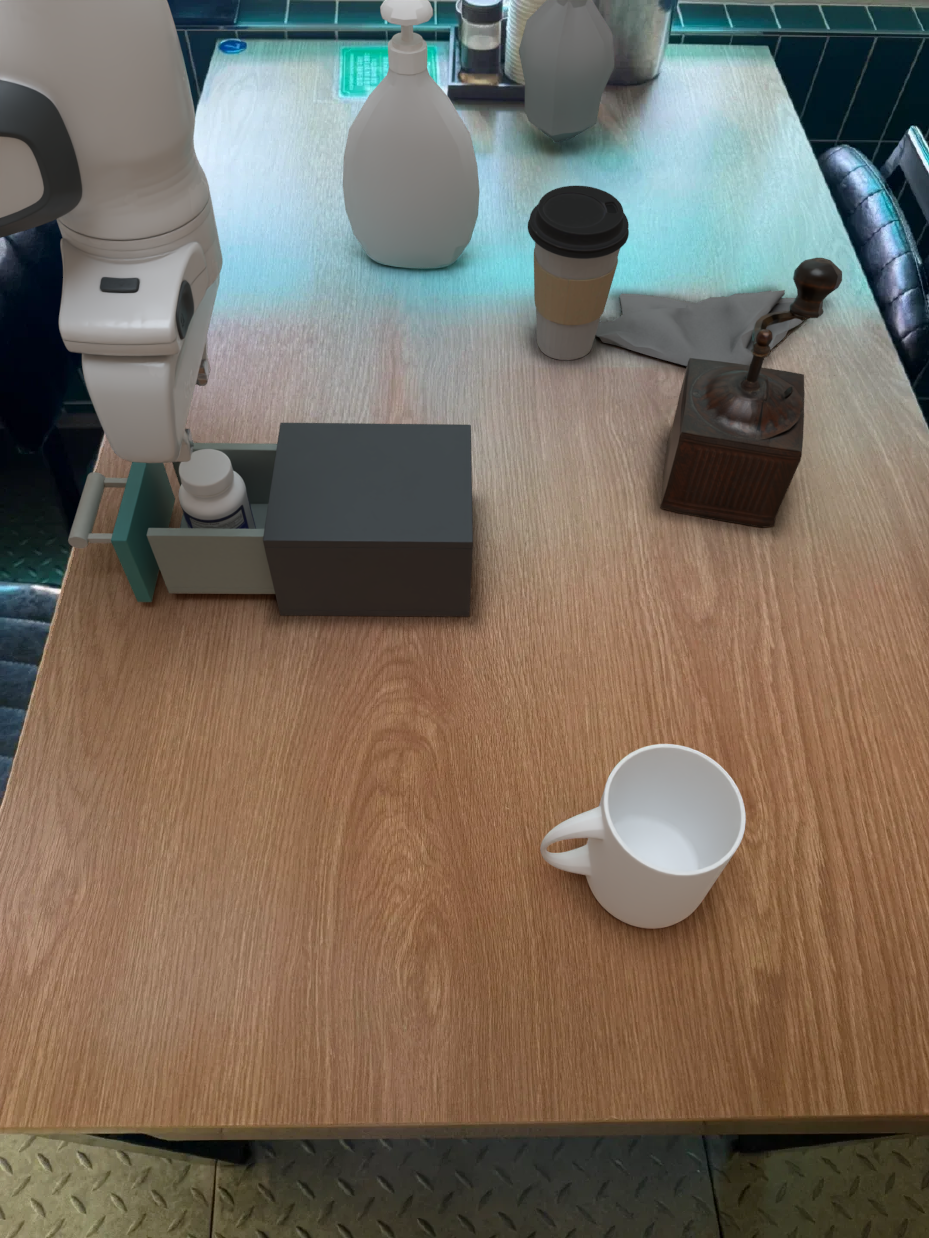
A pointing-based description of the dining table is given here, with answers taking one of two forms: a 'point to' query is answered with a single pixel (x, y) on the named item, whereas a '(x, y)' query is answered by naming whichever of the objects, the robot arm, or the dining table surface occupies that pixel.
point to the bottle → (565, 66)
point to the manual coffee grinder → (743, 422)
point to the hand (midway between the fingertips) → (189, 415)
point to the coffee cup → (574, 265)
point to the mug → (655, 835)
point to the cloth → (695, 326)
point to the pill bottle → (213, 493)
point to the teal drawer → (182, 529)
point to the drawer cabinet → (371, 520)
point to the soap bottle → (410, 159)
